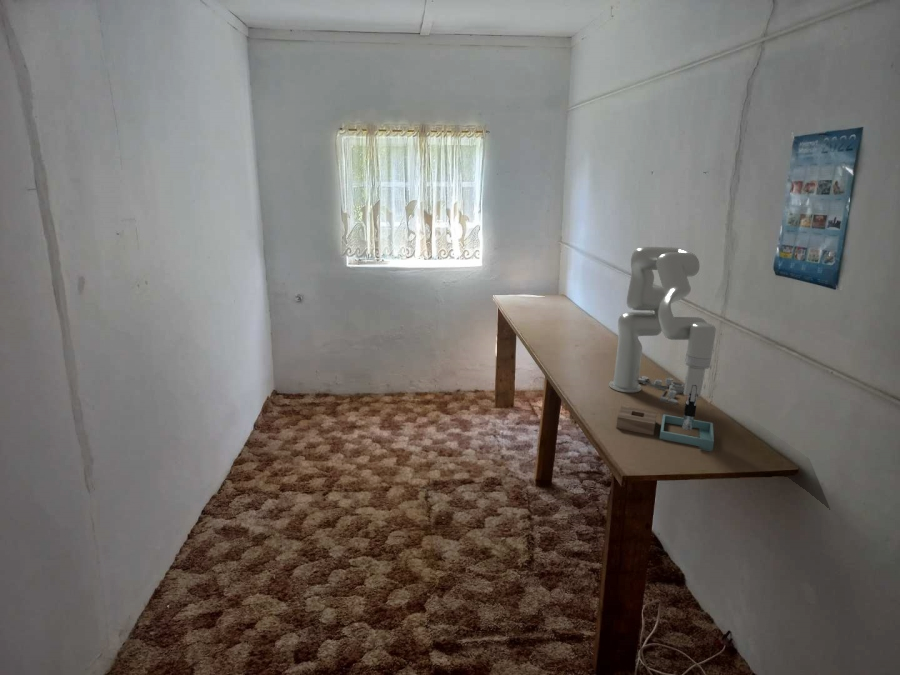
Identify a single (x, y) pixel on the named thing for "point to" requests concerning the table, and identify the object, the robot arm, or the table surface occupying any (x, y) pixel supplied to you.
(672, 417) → the tray
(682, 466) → the table surface
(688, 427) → the pin
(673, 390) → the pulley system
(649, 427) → the block
